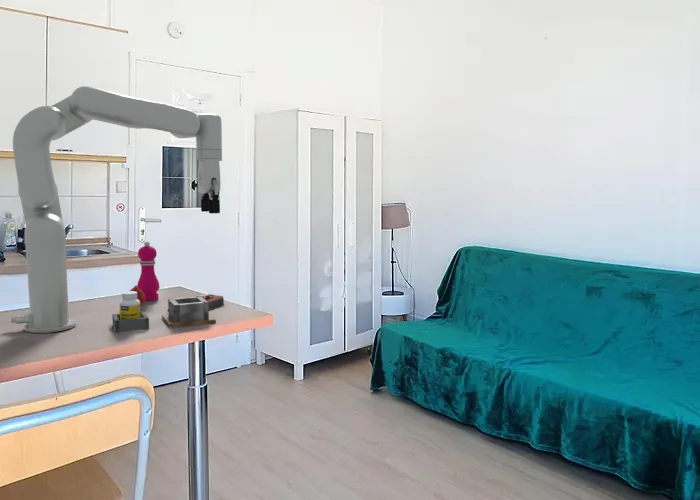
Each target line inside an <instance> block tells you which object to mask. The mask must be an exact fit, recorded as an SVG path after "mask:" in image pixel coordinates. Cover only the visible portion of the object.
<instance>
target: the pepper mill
mask: <svg viewBox="0 0 700 500" xmlns="http://www.w3.org/2000/svg"><path fill="white" fill-rule="evenodd" d="M150 245H151V244H150V242H149V241H145V242H144V246H142V247H140V248H139V249H138V251H137V257H138V258H139V259H140V260H139V265H140V269H141V270H140V276H139V279H138V281H137V287H138V288H139V289H140V290H142V291H143V293H144V294H145V297H146V300H145V302H154V301H157V300H159V293H158V291H159V290H160V282H159V280H158V277H157V276H156V272H155V265H156V260H155V258H156V257H157V255H158V254H157V250H156V248H155V247H154V246H150Z"/></svg>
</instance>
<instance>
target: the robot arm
mask: <svg viewBox="0 0 700 500" xmlns="http://www.w3.org/2000/svg"><path fill="white" fill-rule="evenodd" d="M93 120H94V121H98V122H101V123H102V122H103V123H107V124H112V125H117V126H121V127H125V128H130V129H139V130H140V129H141V130H142V129H147V130H148V129H150V130H156V131H162V132H167V133H170V134H171V135H172V136H173V137H175V138H177V139H189V138H195V139H196V140H195V141H196V142H195V144H196V145H195V149H196V151H195V152H196V153H195V154H196V161H198V167H197V191H198V193H199V194H200V206H201V207H200V211H201V212H205V213H207V212H208V213H209V214H220V213H221V201H220V199H221V197H220V192H221V167H220V162H223V139H222V137H223V135H222V134H223V133H222V131H223V130H222V129H223V127H222V117H221V116H220V114H216V113H215V114H214V113H199V114H197V113H195V112H194V111H192V110H191V109H187V108H183V107H179V106H175V105H171V104H169V103H167V104H166V103H163V102H156V101H152V100H147V99H143V98H139V97H138V98H137V97H133V96H128V95H125V94H120V93H116V92H112V91H110V90H109V91H108V90H105V89H101V88H97V87H92V86H87V85H86V86H79V87H77V88H76V89H74V90H73V92H72V93H71V95H69V96H67V97H65V98H64V99H62V100H60V101H58V102H56V103H55V104H52V105H50V106H49V105H43V106H38V107H35V108H34V109H32V110H30V111H28V113H25V115H24V116H23V117H21V118H20V119H19V122H17V124H16V126H15V128H14V132H13V136H12V150H13V156H14V158H13V159H14V164H15V165H14V166H15V173H16V178H17V185H18V186H17V190H18V195H19V198H20V202H21V207H22V214H23V219H24V223H25V224H24V225H25V228H24V243H25V255H26V256H25V257H26V267H27V268H26V273H27V282H28V283H27V285H28V287H27V288H28V289H27V290H28V302H29V311H28V313H25V314H24V315H11V318H10V319H11V321H10V322H11V324H15V325H20V324H22V325H23V324H25V325H24V327H23V329H24V331H25V332H28V333H33V334H34V333H35V334H43V333H44V334H46V333H47V334H49V333H56V332H62V331H65V330H66V331H67V330H69V329H73V328H74V327H75V326H76V320H75V319H72V318H70V309H69V307H70V306H69V292H68V291H69V289H68V288H69V287H68V271H67V255H66V253H67V252H66V251H67V245H66V243H67V242H66V228H65V225H64V221H63V215H62V209H61V204H60V198H59V191H58V190H59V189H58V185H57V184H56V181H55V178H54V177H55V176H54V173H53V166H52V159H51V151H50V146H51V142H52V141H56V140H58V139H61V138H63V137H64V136H66V135H69V134H70V133H72V132H74V131H76V130H77V129H79V128H81V127H83V126H85V125H87V124H88V123H89V122H91V121H93Z"/></svg>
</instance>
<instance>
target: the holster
mask: <svg viewBox="0 0 700 500" xmlns="http://www.w3.org/2000/svg"><path fill="white" fill-rule="evenodd" d="M140 314H141V318H134V319H124V320H120V313H114V314H113V313H112V316H111V317H112V326H113V328H114V330H115V332H116V333H118V332H128V331H135V330H136V331H138V330H147V329H150V318H149V316H148V315H147V313H146V312H145V311H144V310H143V311H140Z"/></svg>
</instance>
